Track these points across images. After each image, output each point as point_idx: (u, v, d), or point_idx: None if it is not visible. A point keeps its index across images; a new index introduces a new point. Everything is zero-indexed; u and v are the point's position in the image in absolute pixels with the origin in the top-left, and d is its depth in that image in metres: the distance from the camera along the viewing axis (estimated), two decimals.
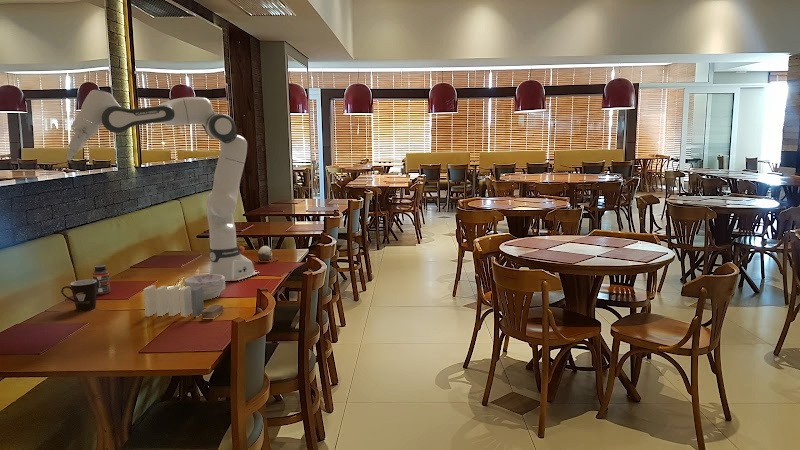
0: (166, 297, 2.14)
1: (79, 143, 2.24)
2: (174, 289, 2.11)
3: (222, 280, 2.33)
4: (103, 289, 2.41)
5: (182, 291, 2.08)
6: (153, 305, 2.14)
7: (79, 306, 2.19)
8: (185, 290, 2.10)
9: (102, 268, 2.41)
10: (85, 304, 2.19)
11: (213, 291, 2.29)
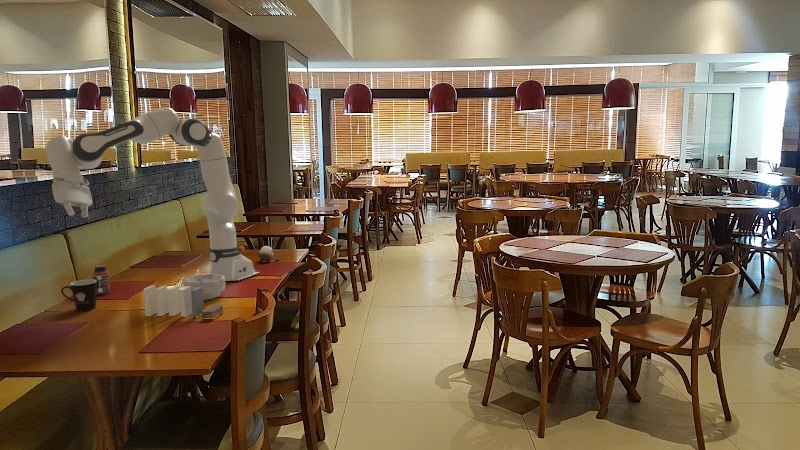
0: (166, 297, 2.14)
1: (60, 191, 2.09)
2: (174, 289, 2.11)
3: (222, 280, 2.33)
4: (103, 289, 2.41)
5: (182, 291, 2.08)
6: (153, 305, 2.14)
7: (79, 306, 2.19)
8: (185, 290, 2.10)
9: (102, 268, 2.41)
10: (85, 304, 2.19)
11: (213, 291, 2.29)
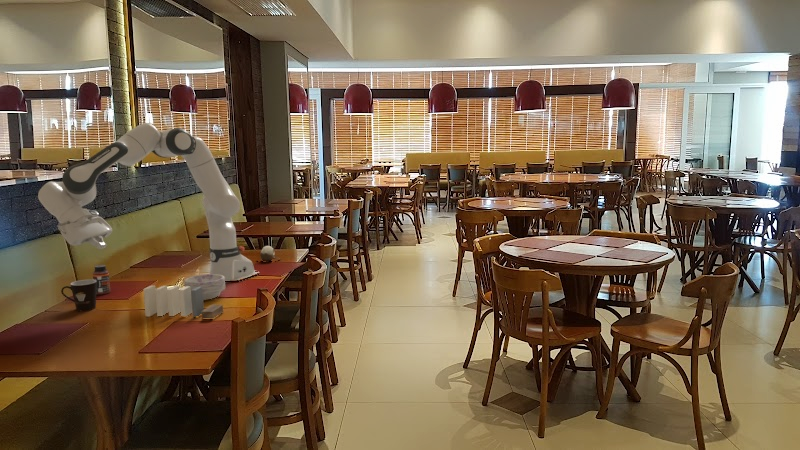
0: (166, 297, 2.14)
1: (70, 234, 2.03)
2: (174, 289, 2.11)
3: (222, 280, 2.33)
4: (103, 289, 2.41)
5: (182, 291, 2.08)
6: (153, 305, 2.14)
7: (79, 306, 2.19)
8: (185, 290, 2.10)
9: (102, 268, 2.41)
10: (85, 304, 2.19)
11: (213, 291, 2.29)
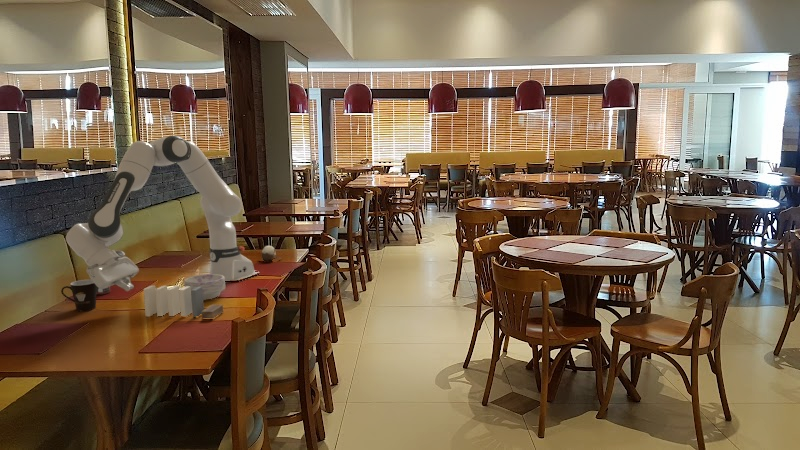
0: (166, 297, 2.14)
1: (99, 278, 2.04)
2: (174, 289, 2.11)
3: (222, 280, 2.33)
4: (103, 289, 2.41)
5: (182, 291, 2.08)
6: (153, 305, 2.14)
7: (79, 306, 2.19)
8: (185, 290, 2.10)
9: None
10: (85, 304, 2.19)
11: (213, 291, 2.29)
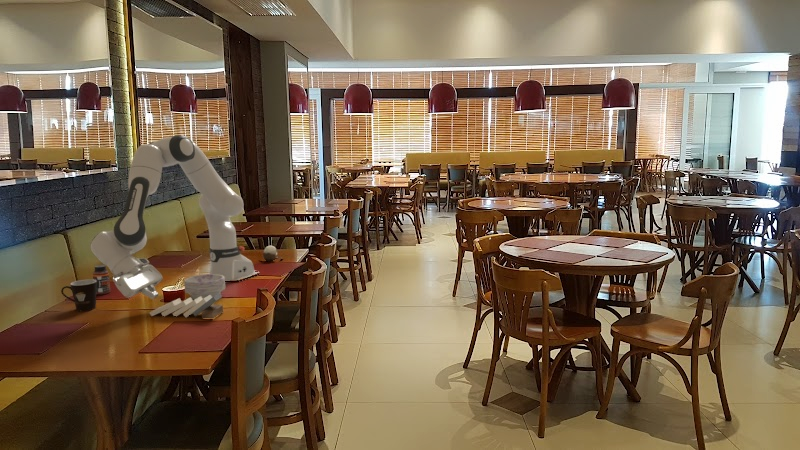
0: None
1: (125, 286, 2.03)
2: None
3: (222, 280, 2.33)
4: (103, 289, 2.41)
5: (204, 302, 2.07)
6: None
7: (79, 306, 2.19)
8: None
9: (102, 268, 2.41)
10: (85, 304, 2.19)
11: (213, 291, 2.29)
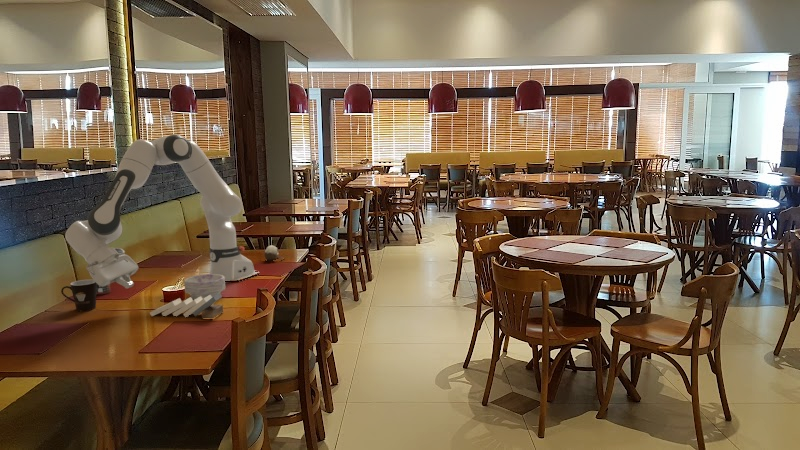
0: None
1: (99, 275, 2.04)
2: None
3: (222, 280, 2.33)
4: (103, 289, 2.41)
5: (204, 302, 2.07)
6: None
7: (79, 306, 2.19)
8: None
9: None
10: (85, 304, 2.19)
11: (213, 291, 2.29)
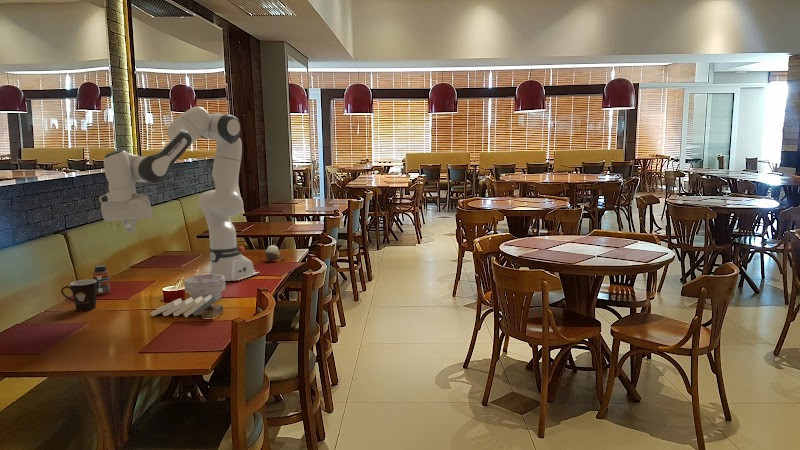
0: None
1: (151, 208, 2.19)
2: None
3: (222, 280, 2.33)
4: (103, 289, 2.41)
5: (204, 302, 2.07)
6: None
7: (79, 306, 2.19)
8: None
9: (102, 268, 2.41)
10: (85, 304, 2.19)
11: (213, 291, 2.29)
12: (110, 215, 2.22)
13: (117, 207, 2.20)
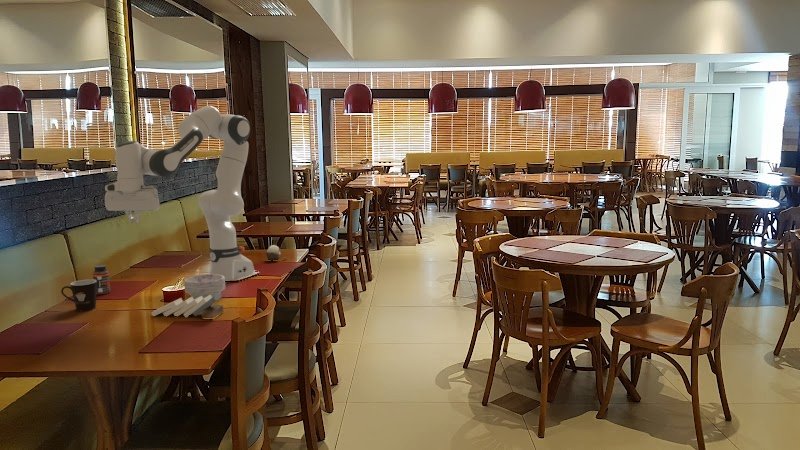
0: None
1: (158, 201, 2.22)
2: None
3: (222, 280, 2.33)
4: (103, 289, 2.41)
5: (204, 302, 2.07)
6: None
7: (79, 306, 2.19)
8: None
9: (102, 268, 2.41)
10: (85, 304, 2.19)
11: (213, 291, 2.29)
12: (114, 204, 2.22)
13: (123, 197, 2.21)
